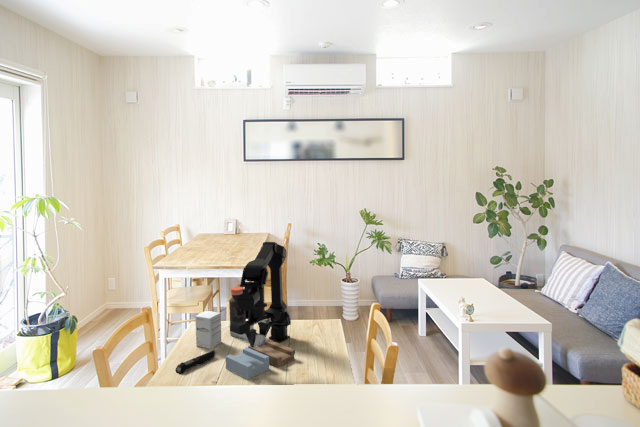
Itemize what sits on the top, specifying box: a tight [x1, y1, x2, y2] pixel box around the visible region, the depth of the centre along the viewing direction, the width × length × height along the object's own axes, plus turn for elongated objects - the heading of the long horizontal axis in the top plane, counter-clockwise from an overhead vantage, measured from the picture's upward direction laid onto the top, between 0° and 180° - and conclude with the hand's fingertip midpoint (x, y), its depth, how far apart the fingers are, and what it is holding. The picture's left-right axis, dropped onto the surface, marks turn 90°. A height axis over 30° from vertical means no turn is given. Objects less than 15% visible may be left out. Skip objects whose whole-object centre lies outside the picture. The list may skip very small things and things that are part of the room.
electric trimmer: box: [175, 350, 216, 375], centre depth 146 cm, size 4×16×3 cm, turn 142°
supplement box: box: [195, 310, 222, 349], centre depth 163 cm, size 7×7×13 cm
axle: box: [229, 331, 267, 347], centre depth 142 cm, size 14×4×4 cm, turn 51°
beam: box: [247, 338, 296, 368], centre depth 151 cm, size 16×9×4 cm, turn 50°
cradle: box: [225, 346, 270, 380], centre depth 143 cm, size 12×10×4 cm
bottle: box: [228, 286, 247, 336], centre depth 172 cm, size 7×7×20 cm
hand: (256, 344), depth 139 cm, fingers closed on axle, 4 cm apart
